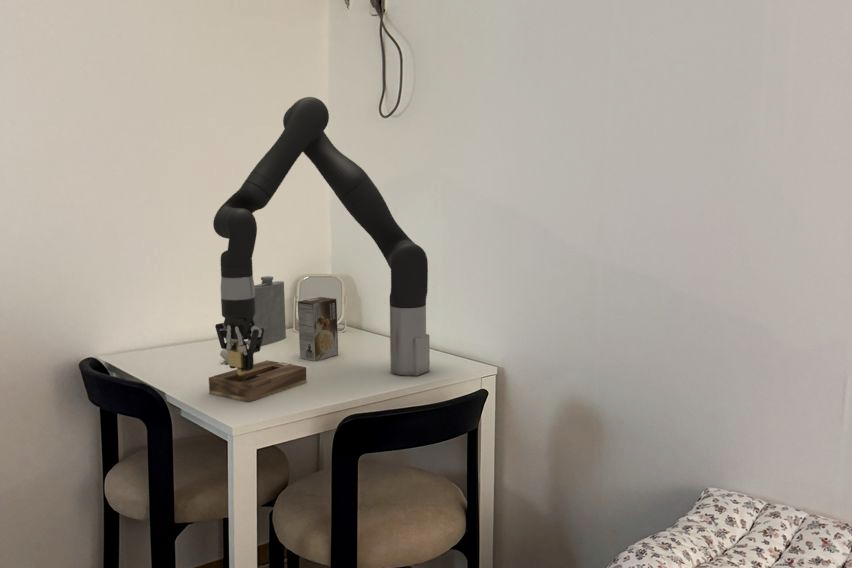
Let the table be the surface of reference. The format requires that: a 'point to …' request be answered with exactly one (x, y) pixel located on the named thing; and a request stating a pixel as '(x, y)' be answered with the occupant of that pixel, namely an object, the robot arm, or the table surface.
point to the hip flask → (270, 310)
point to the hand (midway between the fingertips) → (241, 368)
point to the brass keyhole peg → (237, 362)
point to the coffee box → (318, 328)
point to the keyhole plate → (258, 381)
